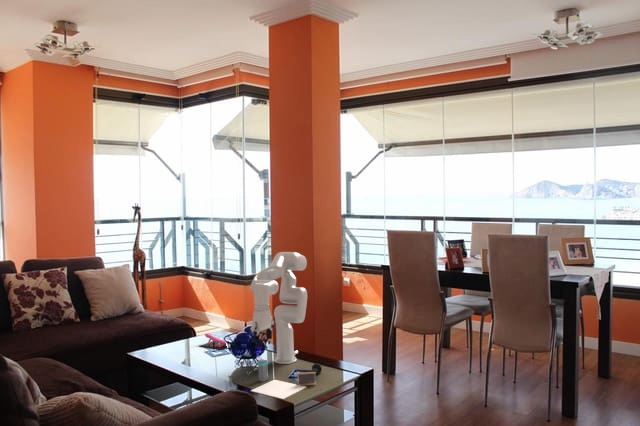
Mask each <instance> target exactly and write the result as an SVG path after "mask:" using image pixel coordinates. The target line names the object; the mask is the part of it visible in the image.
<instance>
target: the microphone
mask: <svg viewBox="0 0 640 426" xmlns="http://www.w3.org/2000/svg"><path fill="white" fill-rule="evenodd" d="M322 369H323V368H322V365H321V364H320V363H313V365H311V370H310V372H316V375H318V374H320V373H321V372H322Z"/></svg>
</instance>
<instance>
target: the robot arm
mask: <svg viewBox="0 0 640 426" xmlns="http://www.w3.org/2000/svg"><path fill="white" fill-rule="evenodd" d="M307 262H308V260H307V258H306V256H305V255H302V254H301V253H299V252H295V251H279V252H277V253H276V254H275V256H274V257H273V259H272V261H271V262H270V265H269V266H268V267H266V268H264V269H262V270H260V271H258V272H257V273H256V274H255V275H254V277H253V279H252V281H251V284H250V291H251V292H252V294H253V297H254V298H253V299H254V310H253V314H252V326H251V327H250V331H251V334H252V336H253V343H254V344H260V335H259V334H260V332H261V331H265V335H266V337H265V338H266V339H270V340H272V338H273V337H272V335H273V333H272V331H273V328H274V325H275V329H276V330H275V331H276V335H275V336H276V357H275V358H274V359H273V361H274V363H276V364H280V365H291V364H294V363H295V362H297V359H298V358H297V357H296V355H298V354H299V351H298V350H295V349H294V348H295V347H294V345H295V344H294V329H293V326H292V324H301V323H303V322H304V321H305V318H306V314H307V313H306V312H307V311H306V310H307V305H308V303H307V302H308V291H307V289H306V288H305V287H302V286H297V277H296V276H295V274H294V272H292V271H297V272H298V271H301V272H302V271H305V270H306V268H307V265H308V263H307ZM280 278H281V282H280V283H281V284H280V286H279V283H278V282H277V281H276V280H277V279H280ZM279 287H280V290H279ZM278 291H279V301H280V302H281V303H283V304H280V305H278V306H276V307H275V308H274V311H273V316H274V320H273V319H272V314H271V309H270V296H274V295H276V294H277V293H278Z"/></svg>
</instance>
